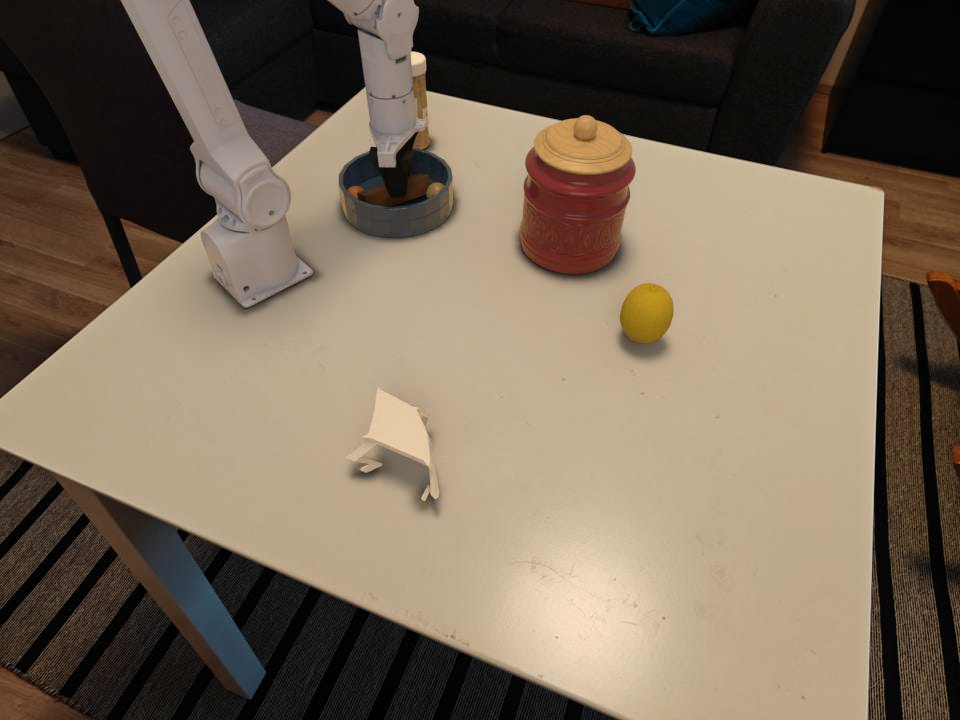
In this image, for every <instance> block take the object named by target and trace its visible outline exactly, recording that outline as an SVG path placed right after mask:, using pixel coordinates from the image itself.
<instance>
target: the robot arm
mask: <svg viewBox="0 0 960 720" xmlns="http://www.w3.org/2000/svg"><path fill="white" fill-rule="evenodd" d="M120 2H121V4H122V6H123V8H124V9H125V11H126V13H127V15H128V18H129V19H130V21H131V23H132V25H133V26H134V28H135V31H136V33H137V35H138V36H139V38H140V39H141V42H142V44H143V46H144V48H145V50H146V52H147V53H148V55H149V57H150V59H151V61H152V62H153V66H154V67H155V69H156V71H157V73H158V75H159V76H160V79H161V80H162V82H163V84H164V86H165V88H166V90H167V92H168V94H169V95H170V97H171V99H172V102H173V103H174V105H175V107H176V109H177V111H178V113H179V115H180V117H181V119H182V120H183V122H184V124H185V126H186V128H187V130H188V132H189V134H190V136H191V138H192V140H193V142H192V143H191V145H190V147H189V150H190V152H191V154H192V156H193V158H194V163H195V176H196V177H195V178H196V180H197V183H198V185H199V187H200V188H201V190H202V191H204V192H205V194H207V195H209V196H212V197H213V198H214V201H215V204H216V205H215V206H216V215H217V217H216V218H215V220H214V221H213V222H212V223H211V224H210V225H209V226H207V227H206V228H204V229H203V230H201V231H200V239H201V242H202V245H203V247H204V250H205V253H206V254H207V258H208V261H209V263H210V266H211V268H212V271H213V274H212V276H213V278H214V279H215V280H216V281H217V282H218V283H219V284H220V285H221V286H222V287H223V288H224V289H225V290H226V291H227V292H228V293H229V294H230V295H231V296H232V298H234V299H235V301H236V302H237V303H239V304H240V305H241V306H242V308H246V309H247V308H248V309H249V308H251V307H252V306H254V305H257V304H258V303H260V302H262V301H264V300H266V299H268V298H270V297H271V296H274V295H276V294H278V293H280V292H281V291H284V290H285V289H287V288H289V287H292V286H293V285H295V284H297V283H299V282H301V281H303V280H305V279H307V278H308V277H312V275H313V274H314V271H313V269H312V268H310V266H308V264H306V263H305V262H304V261H303V260H302V259H300V258H299V257H298V256H297V255H296V251H295V246H294V242H293V239H292V235H291V232H290V231H291V230H290V228H289V223H288V219H287V215H286V214H287V213H288V212H289V208H290V205H291V202H292V192H291V188H290V185H289V184H288V183H287V181H286V180H285V178H284V177H282V176H281V175H279V174H278V173H277V172H276V171H275V170H274V169H273V167H272V165H271V162H270V160H269V159H268V157H267V156H266V155H265V153H264V152H263V150H262V149H261V148H260V147H259V146H258V144H257V143H256V142H255V141H254V139H253V138H252V137H251V135H249V133H248V130H247V128H246V126H245V123H244V121H243V119H242V117H241V114H240V112H239V110H238V108H237V105H236V103H235V100H234V98H233V96H232V94H231V92H230V89H229V87H228V85H227V82H226V80H225V77H224V76H223V73H222V71H221V69H220V67H219V65H218V62H217V60H216V57H215V55H214V53H213V50H212V48H211V46H210V44H209V42H208V40H207V37H206V34H205V33H204V30H203V27H202V25H201V23H200V21H199V18H198V16H197V14H196V12H195V10H194V8H193V5H192V3H191V0H120ZM327 2H329V3H330V4H331V5H333V6H334V7H335V8H336V9H338V10H339V11H340V12H342V13H343V17H344V18H345V20H346V21H347V23H348V24H349V25H354V26H355V27H356V28H358V29H357V36H358V43H359V49H360V57H361V64H362V73H363V79H364V86H365V95H366V102H367V109H368V117H369V121H368V128H369V129H368V130H369V132H370V134H371V137H372V140H373V142H374V145H375V146H370V148H369V150H368V151H369V158H370V161H371V163H372V164H373V165H374V166H375V167H376V168H377V170H378V171H379V173H380V174H381V176H382V178H383V181H384V183H385V186H386V189H387V191H388V193H389V195H390V197H405V196H406V191H407V182H408V177H409V175H410V170H411V163H412V160H413V158H414V153H415V150H413V145H414V142H415V139H416V136H417V134H418V132H423V131H424V130H425V126H426V124H425V120H424V119H417V118H416V116H415V104H414V92H413V78H412V66H411V53H410V52H412V49H413V47H414V42H413V40H414V39H413V36H414V32H415V29H416V26H417V24H418V20H419V15H420V7H419V6H417V5H416V4H415V2H414V0H327Z"/></svg>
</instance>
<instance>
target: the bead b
mask: <svg viewBox="0 0 960 720" xmlns="http://www.w3.org/2000/svg"><path fill="white" fill-rule="evenodd" d="M444 187H445V186H444V185H443V184H442V183H438V182H436V183H432V184H431V185H429V187H428V188H427V191H426V196H427V199H429V198H431V197H433V196H435V195H437V194H438V193H439V192H440V191H441V190H442V189H443V188H444Z"/></svg>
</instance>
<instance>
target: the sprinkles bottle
mask: <svg viewBox="0 0 960 720" xmlns="http://www.w3.org/2000/svg"><path fill="white" fill-rule="evenodd" d="M410 53H411V66H412V78H413V92H414V104H415V116H416V118H417V119H424V120H425V124H426V126H425V130H424V131H423V132H418V134H417V136H416V139H415V142H414V145H413V148H418V149H422V150H426V149H427V148H428V147H429V145H430V144H431V140H430V136H429V134H430V133H429V132H430V131H429V112H428V97H427V95H428V94H427V83H426V72H427V58H426V56H425V55H424V54H423V53H420V52H418V51H411V52H410Z"/></svg>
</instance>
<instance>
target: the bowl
mask: <svg viewBox="0 0 960 720" xmlns="http://www.w3.org/2000/svg"><path fill="white" fill-rule="evenodd" d="M413 150H415V153H414V158H413V160H412V163H411V170H410V175H409V176H412V175H415V174H419V173H422V174H426V175H429V178H430V183H431V184H432V183H436V182H438V183H442V184H443V185H444V186H445V187H444V188H443V189H442V190H441V191H440V192H439V193H438V194H437V195H435V196H433V197H431V198H429V199H427V196H426V195H424V196H421V197H418V198H415V199H412V200H409V201H406V202H403V203H400V204H397V205H394V206H391V207H385V206H377V205H371V204H368V203H366V202H363V201H360V200H358V199H356V198H355V197H353V196H352V195H351V194H349V193H348V192H347V190H348V189H349V188H350V187H352V186H360V187H362V188H363V189H364V190H368V189H371V188H374V187H377V186H380V185H384V184H385V183H384V181H383V178H382V176H381V174H380V173H379V171H378V170H377V168H376V167H375V166H374V165H373V164H372V163H371V161H370V158H369V151H370V150H367V151H365V152H363V153H361V154H359V155H357V156H354V157H353V158H352V159H351V160H350V161H348V162H347V163H345V164H344V165H343V167H342V169H341V171H340V172H339V174H338V182H337V183H338V190H339V196H340V202H341V208H342V210H343V214H344V216H345V218H346V220H347V221H348V223H349V224H351V226H352V227H355V228H356V229H357V230H359V231H361V232H363V233H366V234H368V235H372V236H375V237H380V238H381V237H382V238H389V239H391V238H392V239H393V238H395V239H397V238H400V239H401V238H409V237H415V236H418V235H422V234H425V233H427V232H430V231H432V230H434V229H436V228H437V227H439V226H440V225H441V224H443V223H444V222H445V221H446V220H447V219H448V218H449V216H450V215H451V212H452V210H453V207H454V177H453V171H452V167H450V165H449V164H448V162H447V161H446V160H445V159H444V158H442V157H440V156H439V155H437V154H436V153H434V152H431V151H429V150H426V149H418V148H413Z"/></svg>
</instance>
